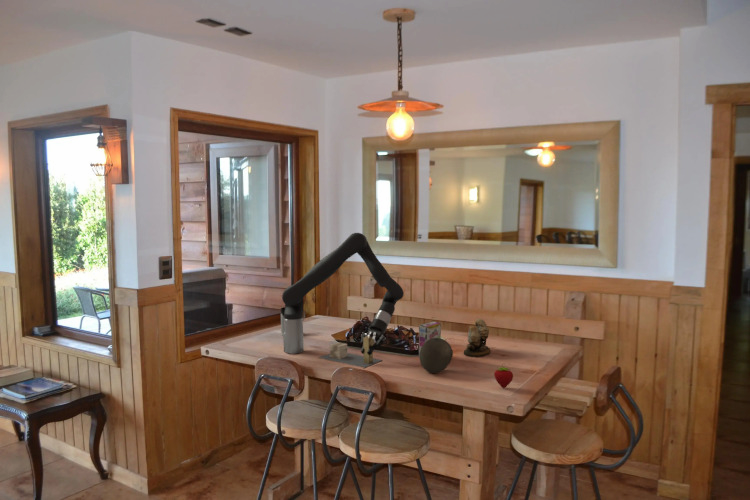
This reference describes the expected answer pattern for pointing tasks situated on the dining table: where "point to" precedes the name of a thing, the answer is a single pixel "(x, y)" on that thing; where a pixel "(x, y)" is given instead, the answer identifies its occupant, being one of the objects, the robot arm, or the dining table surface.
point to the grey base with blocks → (357, 356)
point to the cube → (338, 350)
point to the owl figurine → (477, 340)
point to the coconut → (435, 355)
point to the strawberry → (503, 376)
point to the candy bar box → (428, 332)
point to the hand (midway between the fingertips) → (365, 353)
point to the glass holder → (283, 320)
